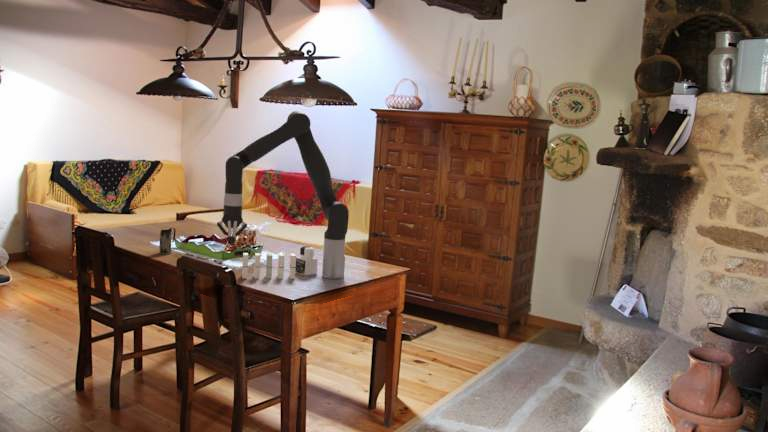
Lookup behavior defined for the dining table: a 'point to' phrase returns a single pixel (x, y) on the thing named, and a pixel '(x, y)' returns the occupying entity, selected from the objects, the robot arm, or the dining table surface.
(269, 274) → the domino
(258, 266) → the domino
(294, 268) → the domino
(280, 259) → the domino
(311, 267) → the medicine bottle
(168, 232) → the mug
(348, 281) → the dining table surface
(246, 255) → the domino
